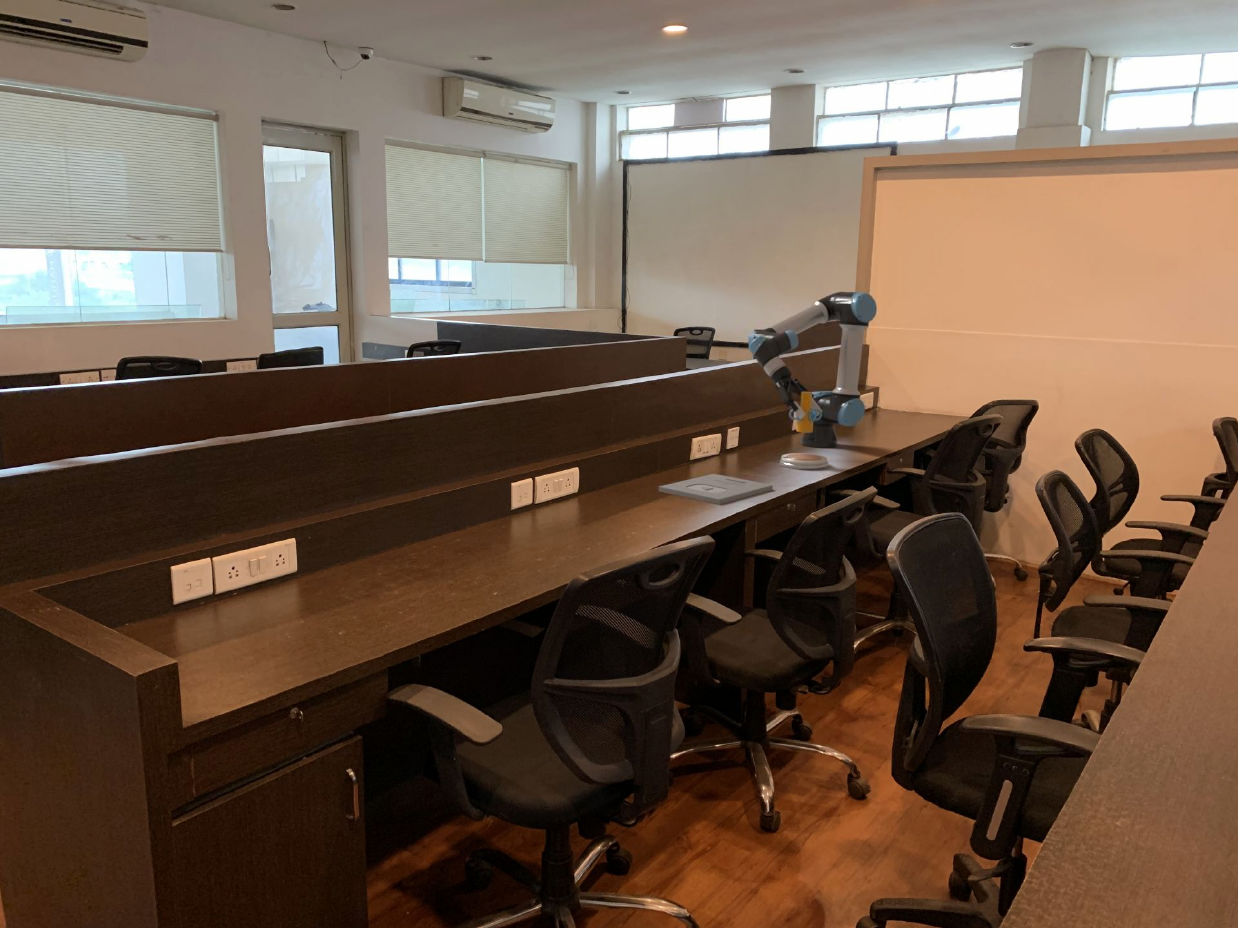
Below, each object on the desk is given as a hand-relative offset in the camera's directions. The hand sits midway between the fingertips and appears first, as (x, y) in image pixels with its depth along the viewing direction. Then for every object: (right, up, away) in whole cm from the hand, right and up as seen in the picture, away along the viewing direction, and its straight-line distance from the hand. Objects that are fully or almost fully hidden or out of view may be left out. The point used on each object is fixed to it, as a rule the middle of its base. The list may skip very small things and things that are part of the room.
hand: (811, 415), depth 347 cm
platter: (-2, -17, +5) cm, 18 cm away
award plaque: (-40, -28, -39) cm, 62 cm away
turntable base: (-2, -19, +5) cm, 20 cm away
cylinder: (-2, -6, +3) cm, 7 cm away
